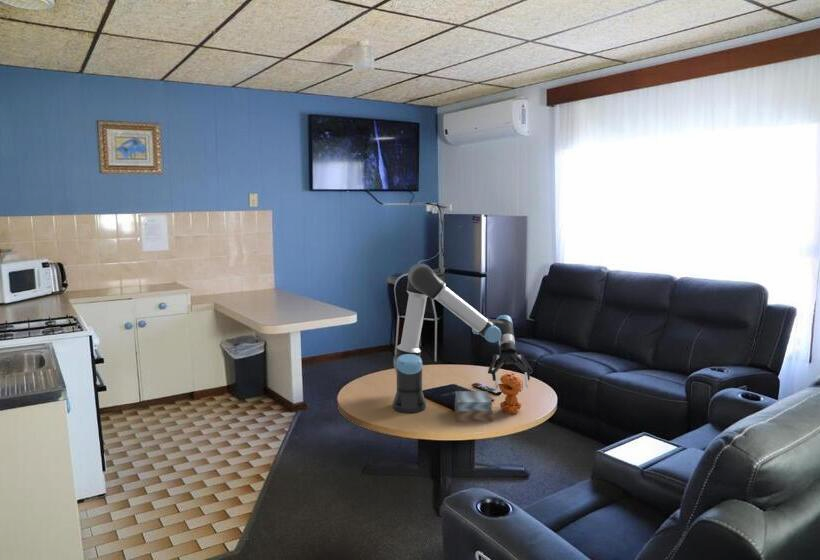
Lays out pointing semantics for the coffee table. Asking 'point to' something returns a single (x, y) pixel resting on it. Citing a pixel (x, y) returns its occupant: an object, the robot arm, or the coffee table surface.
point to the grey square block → (473, 406)
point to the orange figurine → (510, 392)
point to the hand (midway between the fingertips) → (512, 386)
